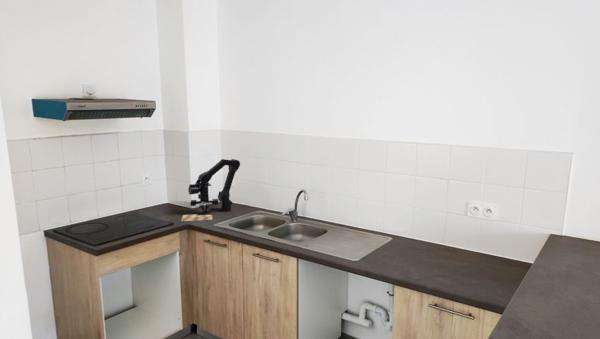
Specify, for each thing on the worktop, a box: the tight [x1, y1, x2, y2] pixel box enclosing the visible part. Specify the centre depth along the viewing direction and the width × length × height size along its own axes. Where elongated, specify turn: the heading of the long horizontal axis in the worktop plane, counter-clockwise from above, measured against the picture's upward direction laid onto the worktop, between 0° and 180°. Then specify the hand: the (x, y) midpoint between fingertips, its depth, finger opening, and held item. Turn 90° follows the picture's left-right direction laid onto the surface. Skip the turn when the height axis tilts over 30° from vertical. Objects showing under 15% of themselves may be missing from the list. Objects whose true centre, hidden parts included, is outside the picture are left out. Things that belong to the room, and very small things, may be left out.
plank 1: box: [181, 213, 198, 219], centre depth 284 cm, size 10×7×1 cm
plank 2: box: [197, 214, 213, 217], centre depth 287 cm, size 10×7×1 cm
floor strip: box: [180, 215, 213, 222], centre depth 278 cm, size 20×8×1 cm, turn 102°
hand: (204, 214), depth 289 cm, fingers closed, pressing on plank 2
